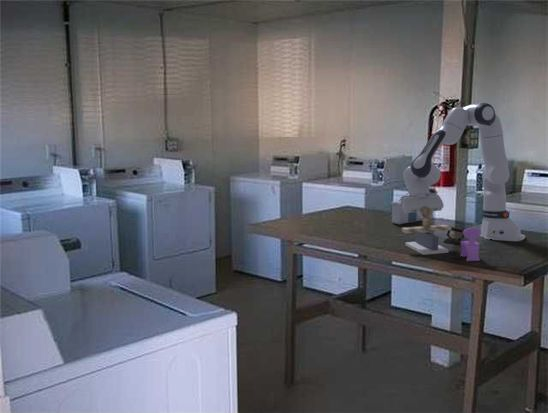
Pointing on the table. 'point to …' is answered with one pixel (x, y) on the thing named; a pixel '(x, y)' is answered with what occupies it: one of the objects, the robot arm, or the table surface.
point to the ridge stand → (426, 244)
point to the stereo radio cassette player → (403, 214)
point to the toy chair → (471, 244)
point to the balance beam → (426, 224)
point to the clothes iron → (454, 240)
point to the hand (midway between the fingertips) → (427, 217)
